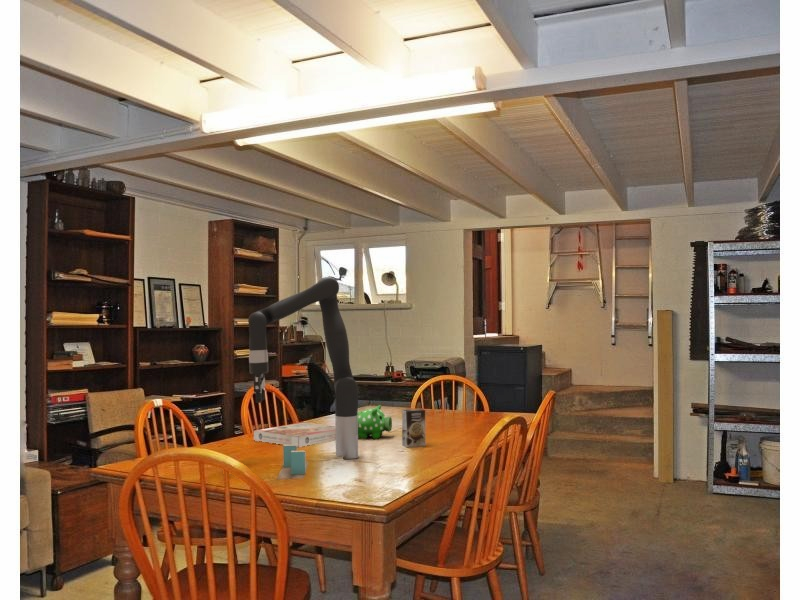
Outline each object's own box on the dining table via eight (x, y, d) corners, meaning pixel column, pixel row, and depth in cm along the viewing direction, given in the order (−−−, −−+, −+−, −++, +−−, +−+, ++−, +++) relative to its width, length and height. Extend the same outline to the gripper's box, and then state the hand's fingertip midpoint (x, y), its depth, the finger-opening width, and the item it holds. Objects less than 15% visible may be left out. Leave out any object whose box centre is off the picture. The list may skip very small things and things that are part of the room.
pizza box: (298, 436, 303) (253, 430, 324) (299, 448, 303) (253, 441, 323) (348, 427, 328) (303, 422, 348) (348, 438, 328) (303, 432, 348)
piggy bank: (387, 440, 319) (387, 408, 319) (350, 439, 322) (350, 408, 322) (392, 435, 333) (392, 404, 333) (357, 434, 336) (356, 404, 336)
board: (308, 465, 265) (308, 461, 265) (303, 481, 238) (303, 478, 238) (284, 465, 265) (284, 462, 265) (276, 482, 237) (276, 479, 237)
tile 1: (297, 465, 259) (297, 444, 260) (296, 466, 257) (296, 445, 257) (284, 465, 259) (283, 444, 259) (283, 467, 257) (283, 445, 257)
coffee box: (407, 447, 299) (406, 411, 300) (401, 445, 305) (401, 409, 306) (426, 446, 302) (425, 409, 303) (420, 443, 308) (419, 408, 309)
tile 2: (305, 472, 247) (305, 450, 247) (305, 473, 244) (304, 451, 245) (291, 472, 246) (291, 450, 247) (291, 474, 244) (290, 452, 244)
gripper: (265, 362, 266) (267, 403, 265) (270, 359, 280) (271, 399, 280) (246, 362, 265) (247, 404, 265) (252, 360, 280) (253, 400, 279)
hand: (260, 401), depth 272 cm, fingers open, 8 cm apart
